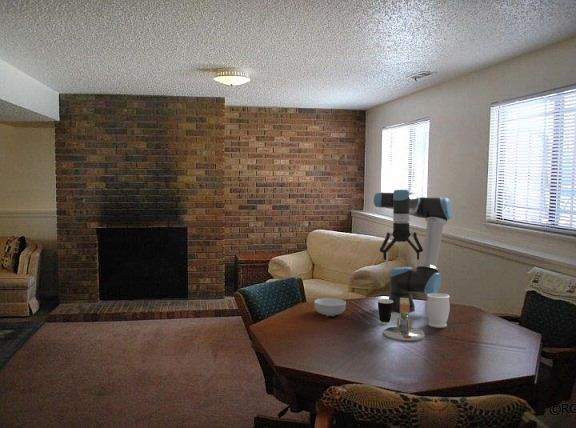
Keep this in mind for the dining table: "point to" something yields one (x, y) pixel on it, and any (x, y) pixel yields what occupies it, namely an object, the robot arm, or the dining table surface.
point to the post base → (399, 335)
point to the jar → (438, 309)
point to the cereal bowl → (329, 306)
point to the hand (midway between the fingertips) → (401, 266)
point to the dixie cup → (385, 310)
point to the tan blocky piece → (404, 311)
